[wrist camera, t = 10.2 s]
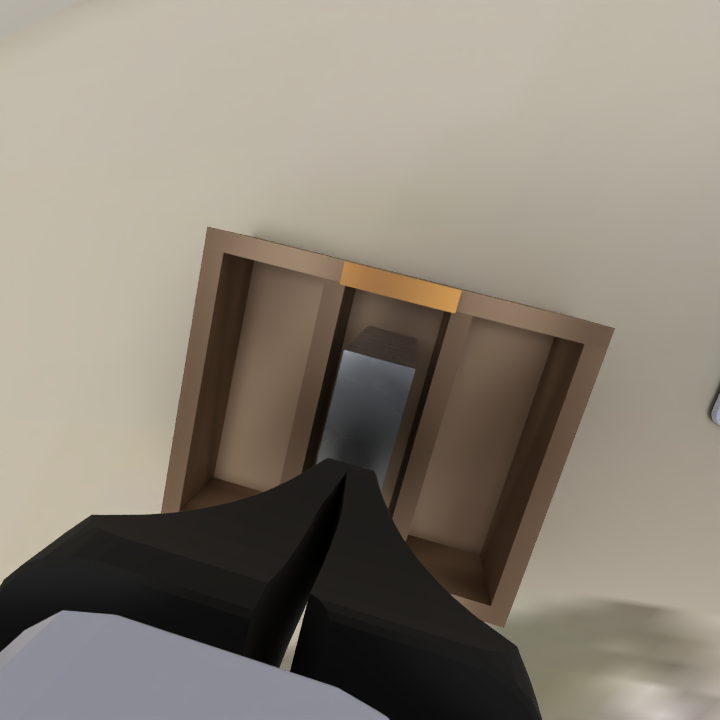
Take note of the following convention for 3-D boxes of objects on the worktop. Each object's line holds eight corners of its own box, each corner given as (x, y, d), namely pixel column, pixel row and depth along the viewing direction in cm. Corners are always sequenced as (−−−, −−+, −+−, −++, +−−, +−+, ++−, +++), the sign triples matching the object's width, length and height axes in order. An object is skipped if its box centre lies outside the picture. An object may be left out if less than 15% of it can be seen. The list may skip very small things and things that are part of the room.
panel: (416, 338, 18) (415, 369, 12) (372, 493, 19) (353, 588, 13) (367, 325, 18) (343, 350, 12) (328, 480, 19) (290, 568, 14)
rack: (571, 316, 18) (632, 333, 13) (487, 559, 20) (510, 654, 15) (250, 236, 19) (189, 222, 14) (206, 477, 21) (141, 540, 16)
